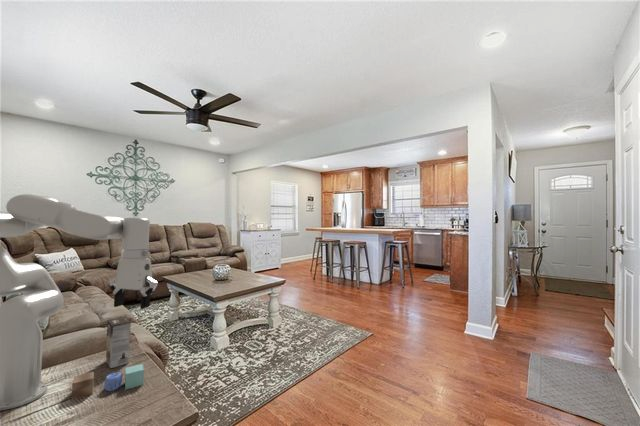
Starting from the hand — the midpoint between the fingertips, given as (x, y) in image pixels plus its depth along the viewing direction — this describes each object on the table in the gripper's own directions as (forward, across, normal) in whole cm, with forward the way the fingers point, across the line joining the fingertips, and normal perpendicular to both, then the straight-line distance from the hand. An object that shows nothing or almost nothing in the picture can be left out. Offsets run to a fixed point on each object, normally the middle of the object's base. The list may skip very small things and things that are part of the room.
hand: (131, 306), depth 93 cm
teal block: (+27, +1, -4) cm, 27 cm away
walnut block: (+27, +13, +3) cm, 30 cm away
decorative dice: (+27, +6, -1) cm, 28 cm away
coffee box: (+28, +20, -17) cm, 38 cm away
